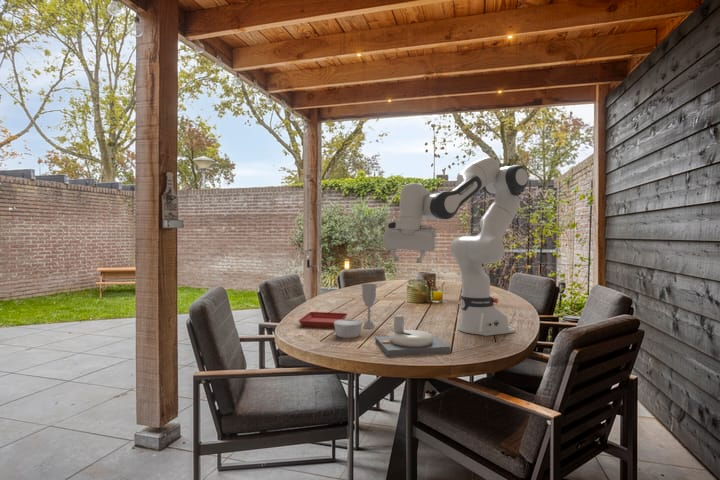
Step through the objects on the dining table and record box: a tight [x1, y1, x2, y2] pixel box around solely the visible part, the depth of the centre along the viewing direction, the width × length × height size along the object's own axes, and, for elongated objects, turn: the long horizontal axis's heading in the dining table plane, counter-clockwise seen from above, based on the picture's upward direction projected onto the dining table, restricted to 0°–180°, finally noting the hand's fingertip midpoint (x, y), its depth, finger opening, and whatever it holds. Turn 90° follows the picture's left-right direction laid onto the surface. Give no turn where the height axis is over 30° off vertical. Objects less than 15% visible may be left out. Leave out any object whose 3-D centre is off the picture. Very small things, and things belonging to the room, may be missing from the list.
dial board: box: [374, 334, 451, 357], centre depth 146 cm, size 22×17×3 cm
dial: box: [389, 314, 434, 347], centre depth 145 cm, size 15×15×8 cm
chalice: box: [360, 283, 378, 329], centre depth 175 cm, size 7×7×18 cm
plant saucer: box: [298, 311, 348, 329], centre depth 182 cm, size 18×18×3 cm
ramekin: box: [334, 318, 363, 339], centre depth 162 cm, size 11×11×5 cm
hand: (407, 262), depth 155 cm, fingers open, 8 cm apart
